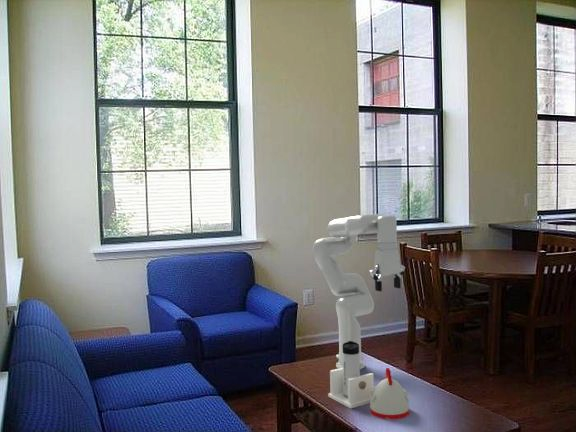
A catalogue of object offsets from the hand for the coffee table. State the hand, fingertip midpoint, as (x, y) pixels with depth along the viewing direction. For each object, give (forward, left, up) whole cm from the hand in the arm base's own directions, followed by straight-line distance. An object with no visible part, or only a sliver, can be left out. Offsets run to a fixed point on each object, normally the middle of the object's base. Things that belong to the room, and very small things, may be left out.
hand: (388, 289), depth 227 cm
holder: (+4, -22, -38) cm, 44 cm away
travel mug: (+4, -22, -37) cm, 43 cm away
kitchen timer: (+21, -18, -39) cm, 47 cm away
